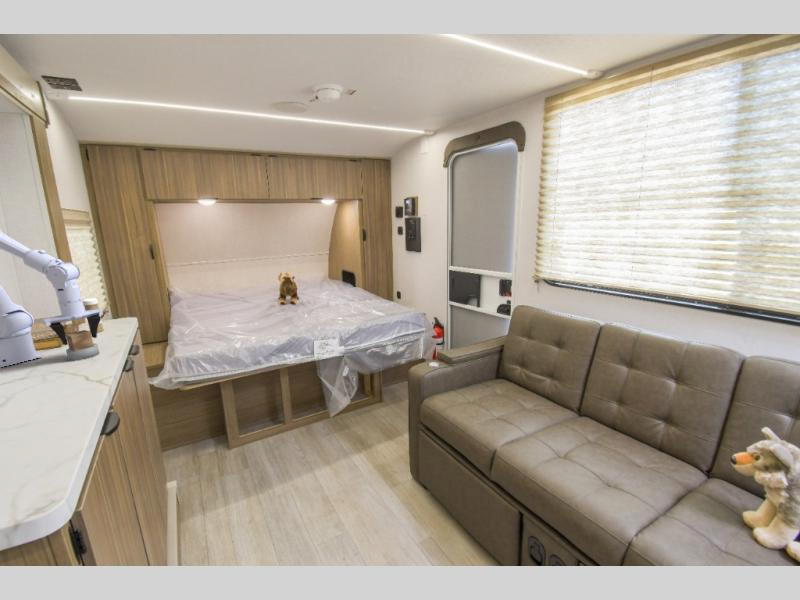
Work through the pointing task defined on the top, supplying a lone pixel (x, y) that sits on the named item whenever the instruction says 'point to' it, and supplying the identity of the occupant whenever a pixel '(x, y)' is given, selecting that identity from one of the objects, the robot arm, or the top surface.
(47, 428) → the top surface
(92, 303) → the sprinkles bottle
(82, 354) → the grey rounded dome
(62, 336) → the robot arm
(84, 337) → the walnut block
